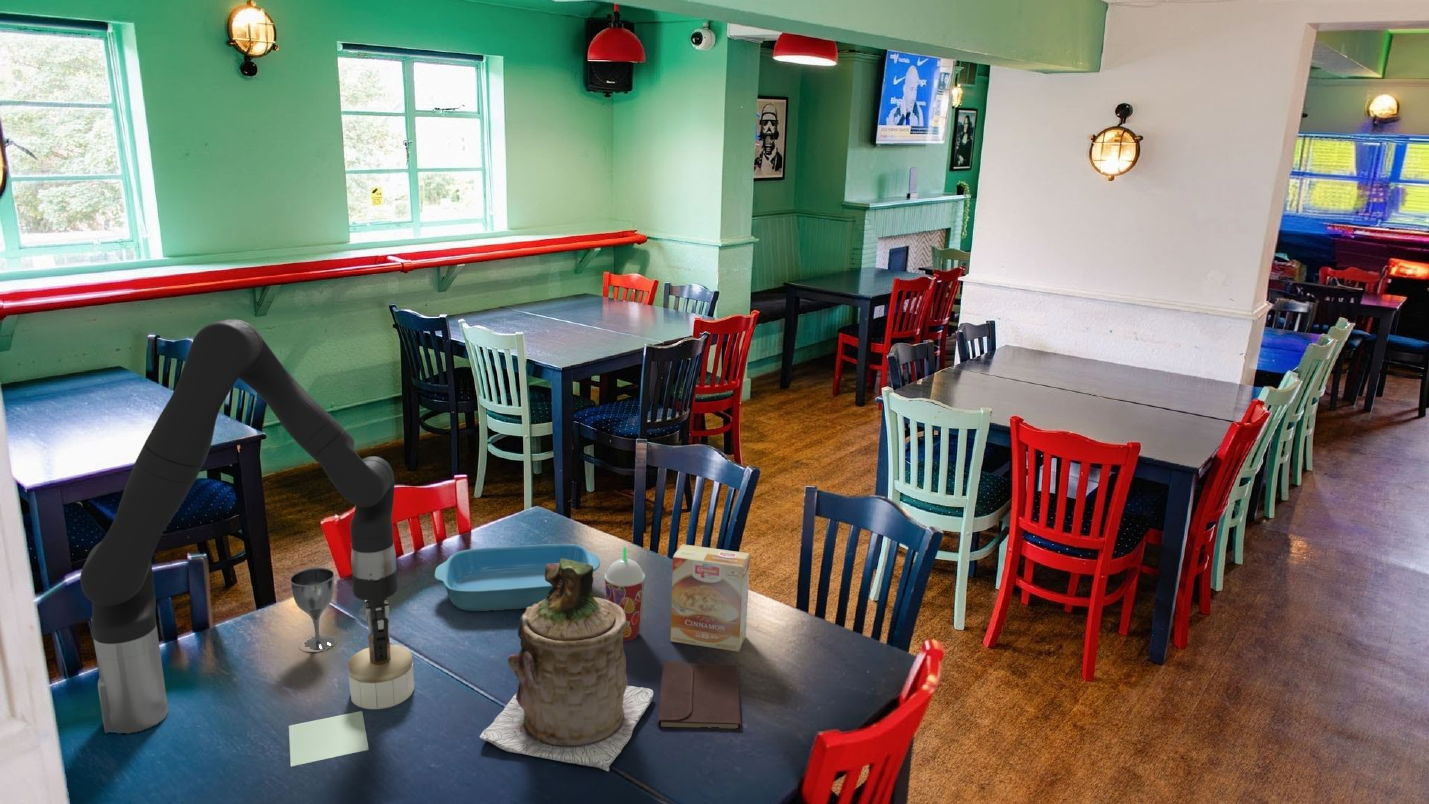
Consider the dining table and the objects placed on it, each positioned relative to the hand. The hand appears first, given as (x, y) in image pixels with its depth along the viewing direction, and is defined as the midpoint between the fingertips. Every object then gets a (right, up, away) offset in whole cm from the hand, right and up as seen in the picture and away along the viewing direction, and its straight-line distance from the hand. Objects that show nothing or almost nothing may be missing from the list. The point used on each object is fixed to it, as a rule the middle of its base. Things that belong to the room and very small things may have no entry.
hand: (379, 653), depth 173 cm
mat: (-5, -12, -11) cm, 17 cm away
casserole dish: (+16, +2, +44) cm, 47 cm away
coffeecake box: (+60, -4, +26) cm, 66 cm away
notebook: (+58, -10, +6) cm, 60 cm away
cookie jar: (+35, -12, -3) cm, 37 cm away
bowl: (0, -8, +2) cm, 9 cm away
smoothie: (+42, -3, +27) cm, 50 cm away
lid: (0, -2, +1) cm, 2 cm away
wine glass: (-19, -3, +19) cm, 27 cm away
